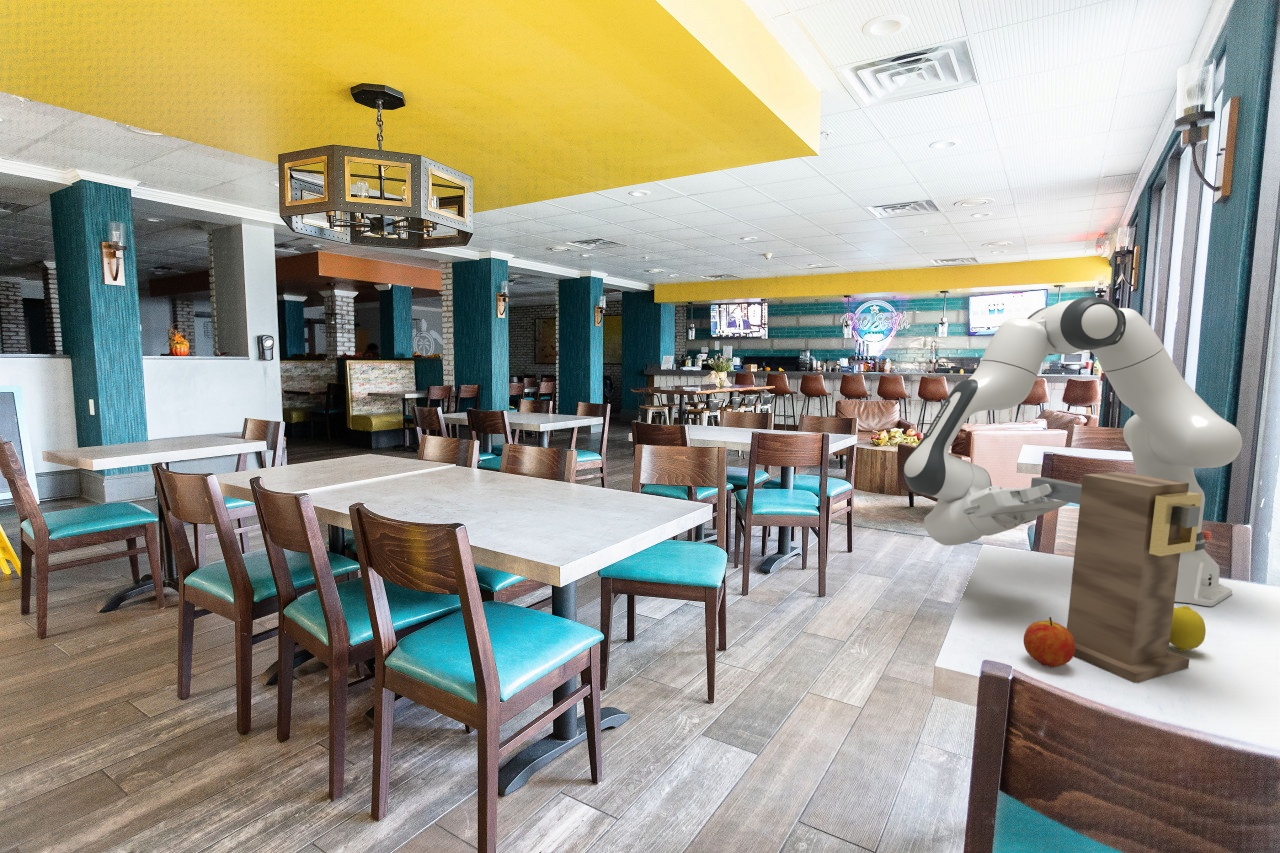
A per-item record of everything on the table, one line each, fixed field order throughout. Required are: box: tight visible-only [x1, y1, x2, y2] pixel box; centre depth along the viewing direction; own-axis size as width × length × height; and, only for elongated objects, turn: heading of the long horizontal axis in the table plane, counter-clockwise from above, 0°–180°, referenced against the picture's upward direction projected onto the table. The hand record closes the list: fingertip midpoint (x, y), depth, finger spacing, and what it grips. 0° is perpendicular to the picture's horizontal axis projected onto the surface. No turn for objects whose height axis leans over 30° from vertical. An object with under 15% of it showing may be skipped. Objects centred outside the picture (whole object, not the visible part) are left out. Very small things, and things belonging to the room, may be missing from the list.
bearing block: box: [1066, 471, 1190, 684], centre depth 104 cm, size 14×14×30 cm
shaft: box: [1030, 476, 1200, 528], centre depth 107 cm, size 3×24×3 cm, turn 23°
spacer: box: [1149, 492, 1202, 556], centre depth 98 cm, size 9×2×9 cm, turn 113°
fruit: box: [1023, 616, 1075, 668], centre depth 102 cm, size 7×7×8 cm
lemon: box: [1169, 605, 1207, 652], centre depth 108 cm, size 6×6×8 cm
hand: (1059, 487), depth 114 cm, fingers closed on shaft, 3 cm apart
